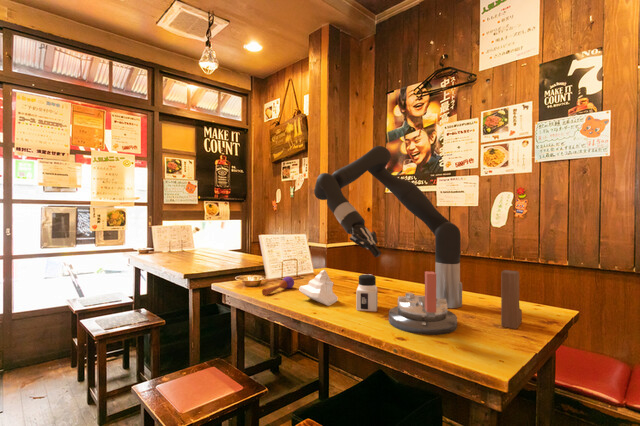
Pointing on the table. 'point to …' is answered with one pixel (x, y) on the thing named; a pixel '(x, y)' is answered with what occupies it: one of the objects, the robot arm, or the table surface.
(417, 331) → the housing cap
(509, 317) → the wooden block
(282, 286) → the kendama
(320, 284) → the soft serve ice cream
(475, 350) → the table surface
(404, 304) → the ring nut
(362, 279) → the container
